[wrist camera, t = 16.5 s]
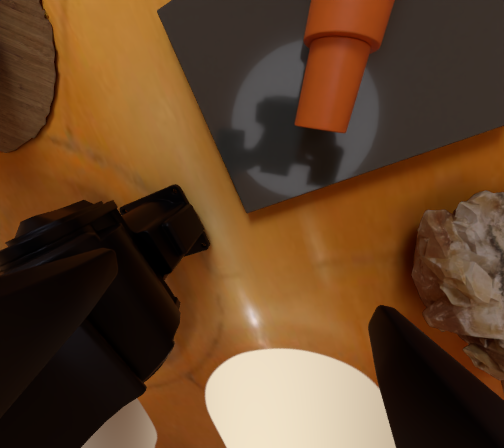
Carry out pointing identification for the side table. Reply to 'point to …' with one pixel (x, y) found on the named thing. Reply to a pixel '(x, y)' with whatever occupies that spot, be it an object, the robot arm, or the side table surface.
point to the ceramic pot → (24, 71)
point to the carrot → (338, 58)
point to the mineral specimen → (465, 276)
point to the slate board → (368, 98)
